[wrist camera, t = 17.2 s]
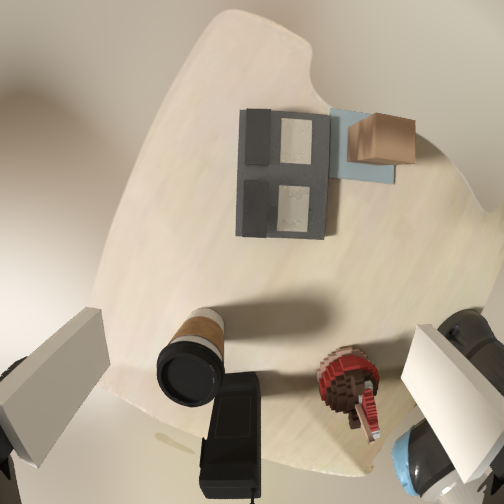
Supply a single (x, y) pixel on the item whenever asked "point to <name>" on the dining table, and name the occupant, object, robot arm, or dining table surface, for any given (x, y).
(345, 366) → the cake
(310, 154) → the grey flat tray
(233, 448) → the portable radio
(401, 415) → the dining table surface
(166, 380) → the coffee cup
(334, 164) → the mat
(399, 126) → the walnut block
